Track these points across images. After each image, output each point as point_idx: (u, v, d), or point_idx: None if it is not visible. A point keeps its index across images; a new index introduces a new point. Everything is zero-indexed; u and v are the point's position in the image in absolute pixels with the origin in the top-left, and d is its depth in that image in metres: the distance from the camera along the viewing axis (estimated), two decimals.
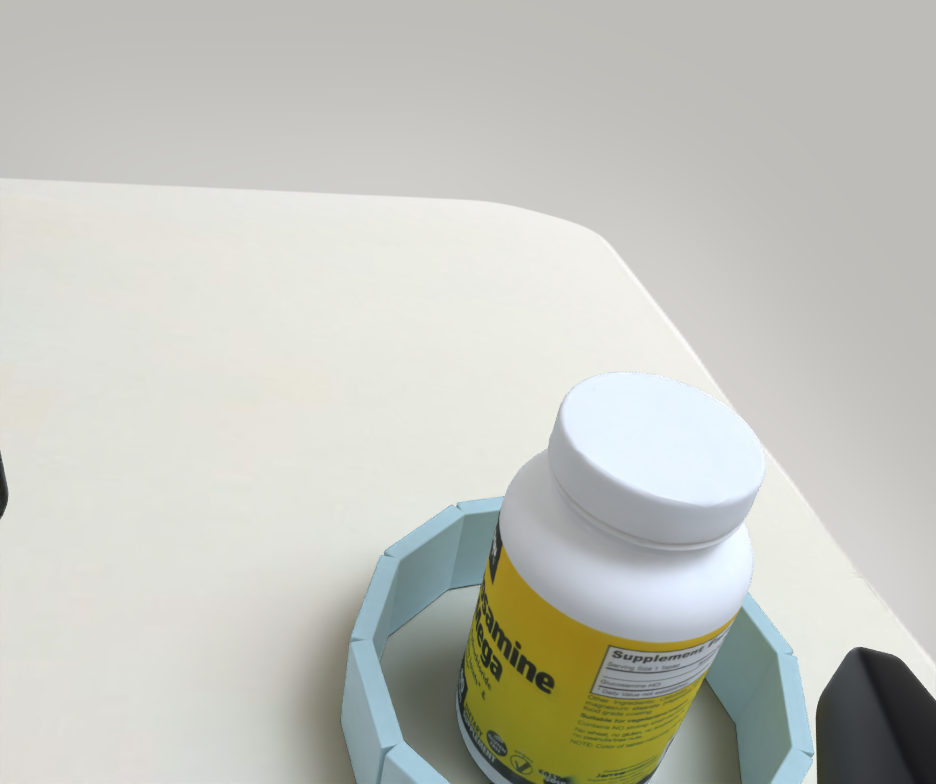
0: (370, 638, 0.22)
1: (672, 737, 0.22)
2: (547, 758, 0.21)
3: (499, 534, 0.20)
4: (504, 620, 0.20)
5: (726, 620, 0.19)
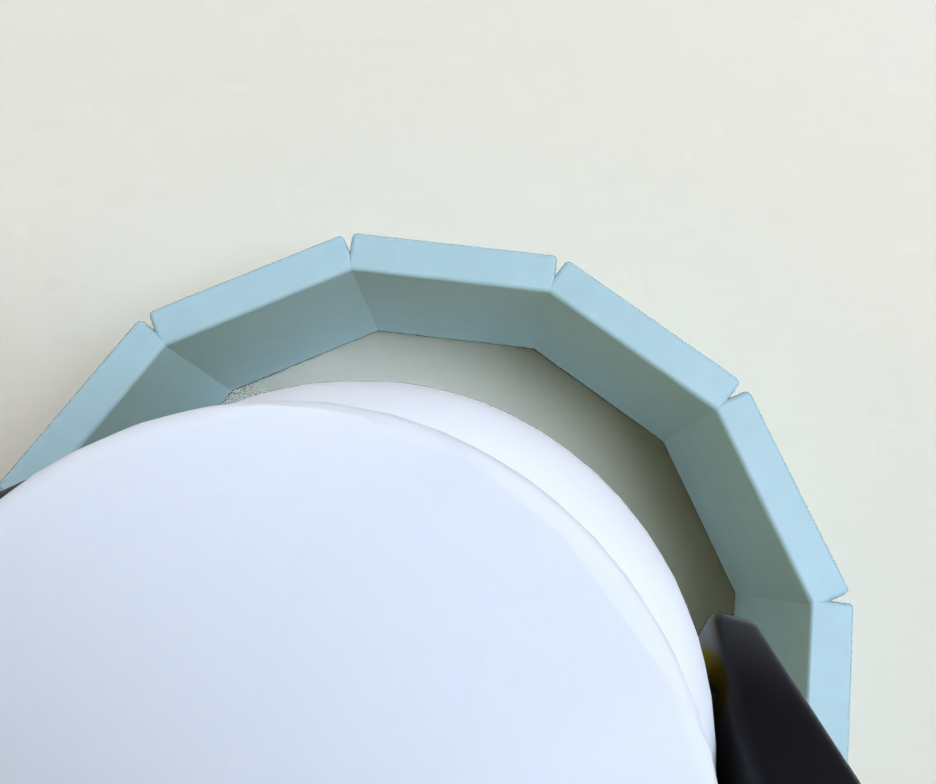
0: None
1: None
2: None
3: None
4: None
5: None
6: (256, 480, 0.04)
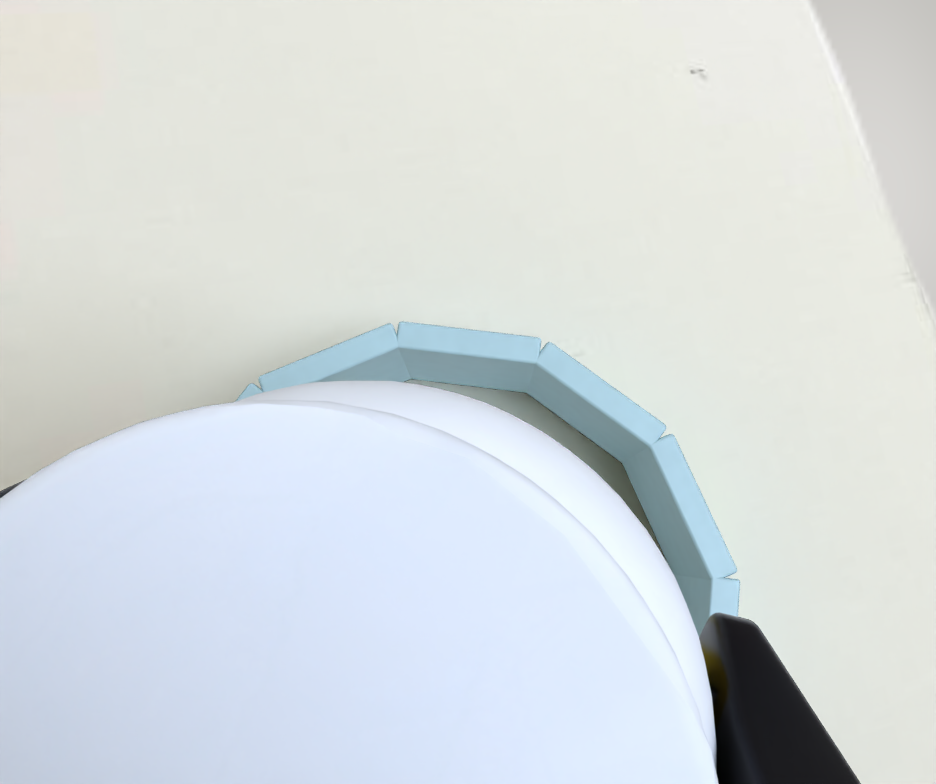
0: None
1: None
2: None
3: None
4: None
5: None
6: (257, 479, 0.04)
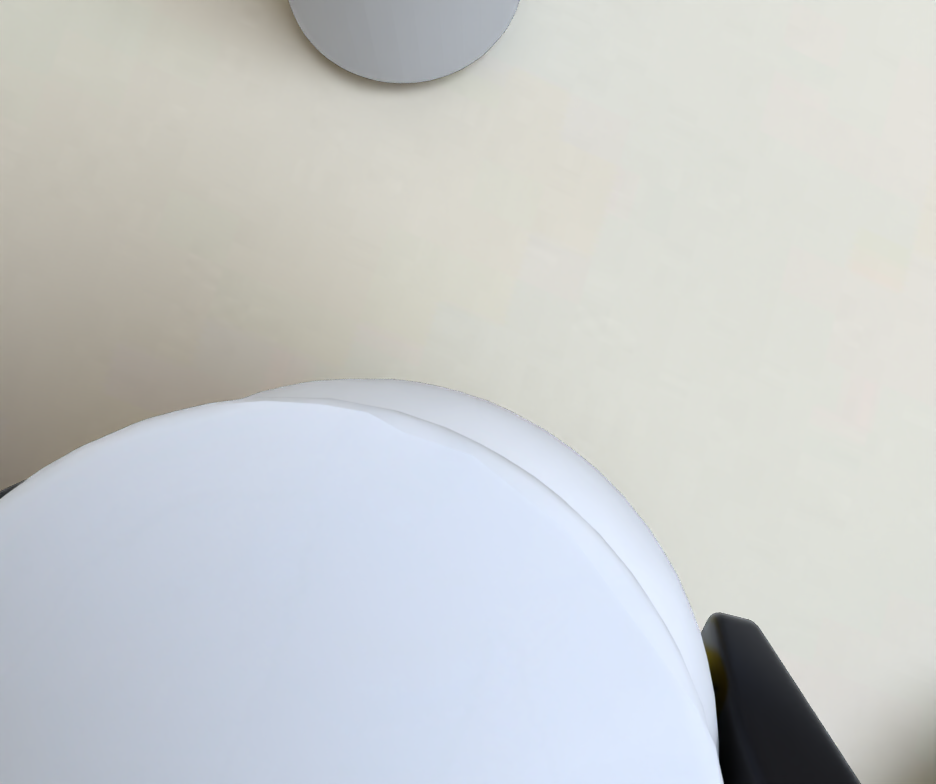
0: None
1: None
2: None
3: None
4: None
5: None
6: (261, 476, 0.04)
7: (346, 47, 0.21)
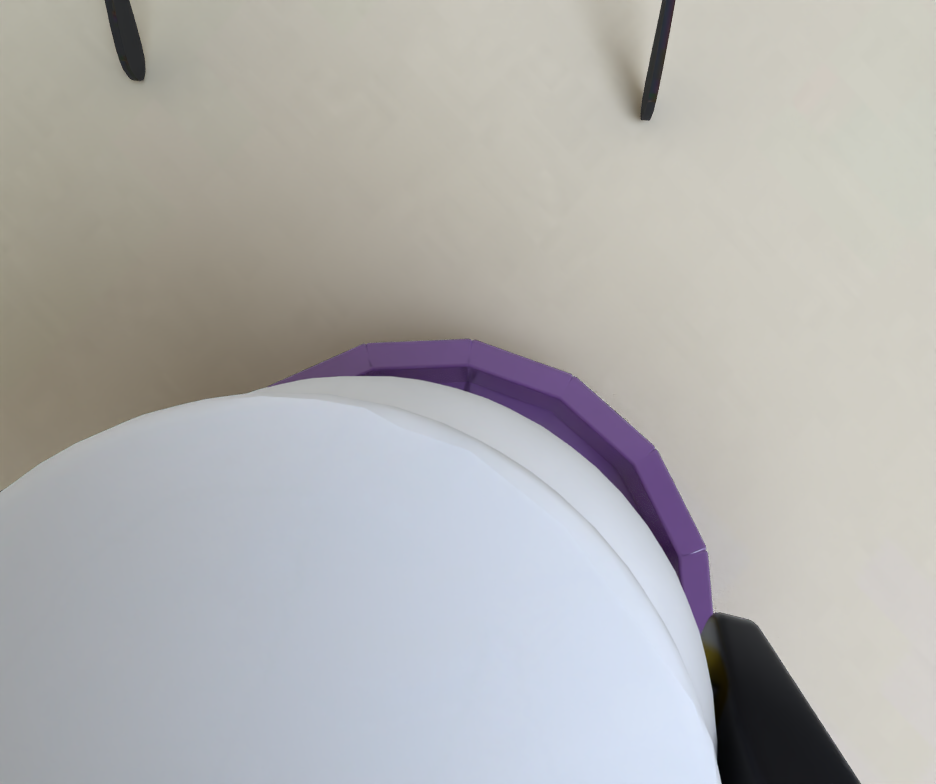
0: None
1: None
2: None
3: None
4: None
5: None
6: (258, 471, 0.04)
7: None
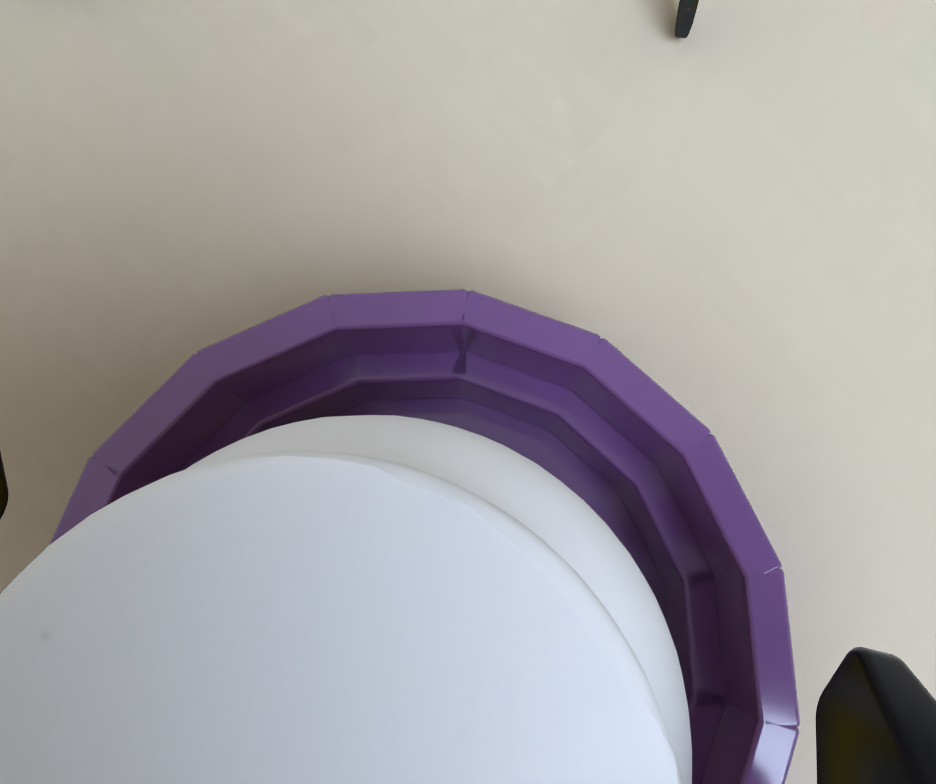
0: None
1: None
2: None
3: None
4: None
5: None
6: (282, 522, 0.05)
7: None
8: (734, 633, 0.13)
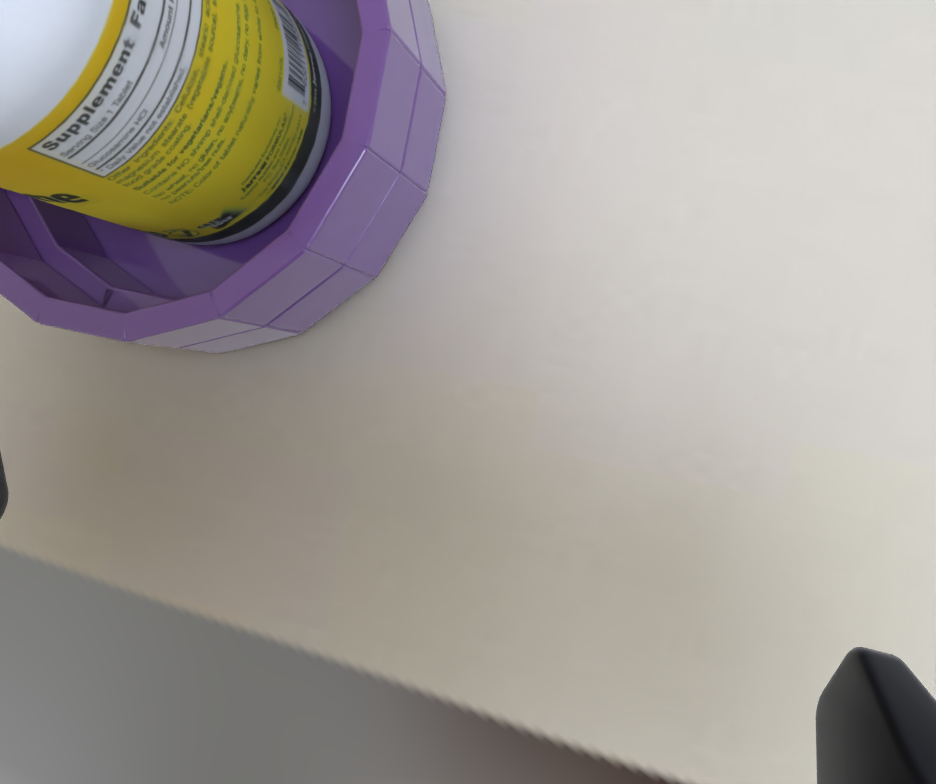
0: None
1: (284, 81, 0.17)
2: (184, 221, 0.18)
3: None
4: None
5: None
6: None
7: None
8: None
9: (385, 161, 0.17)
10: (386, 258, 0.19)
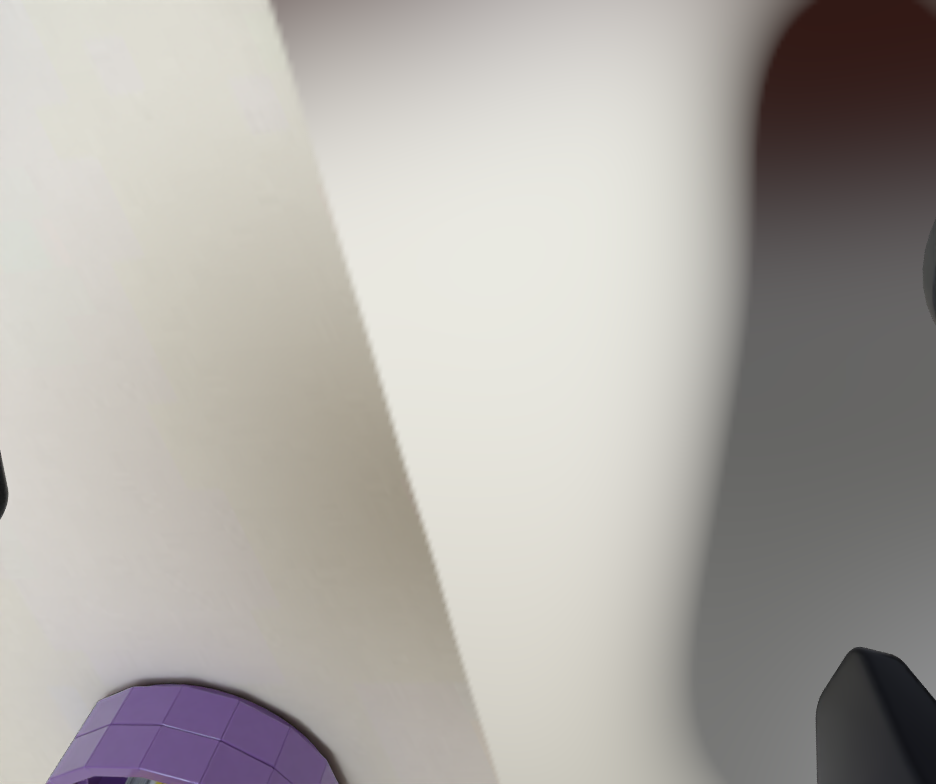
0: None
1: None
2: None
3: None
4: None
5: None
6: None
7: None
8: None
9: (152, 743, 0.30)
10: (225, 698, 0.32)
